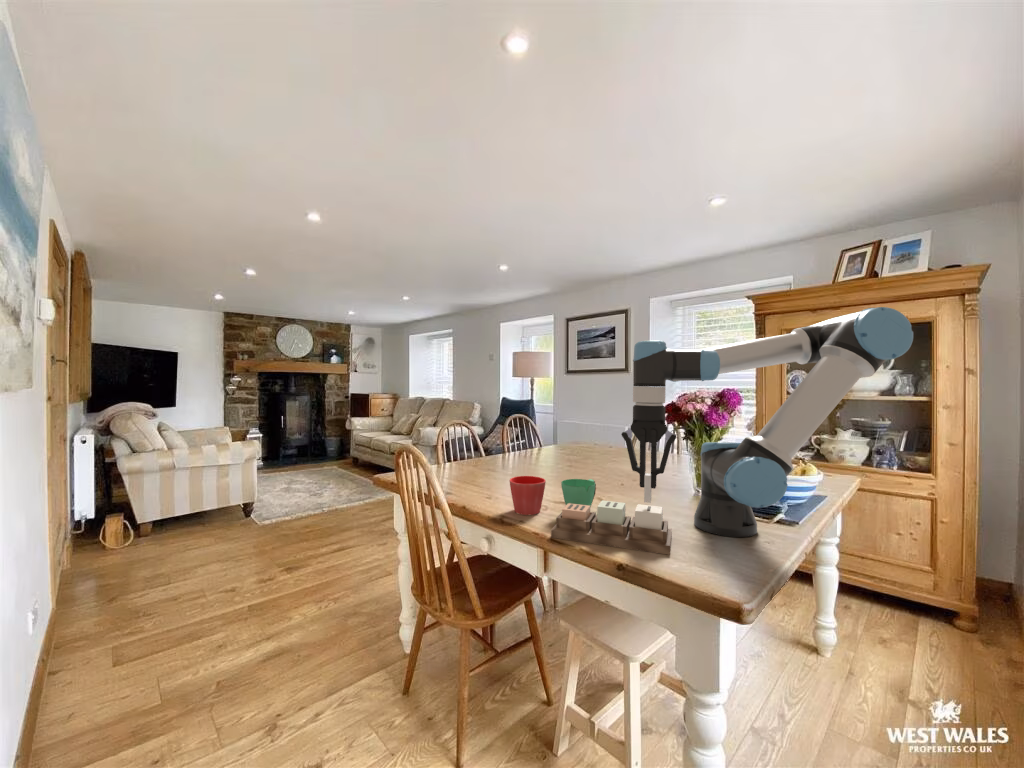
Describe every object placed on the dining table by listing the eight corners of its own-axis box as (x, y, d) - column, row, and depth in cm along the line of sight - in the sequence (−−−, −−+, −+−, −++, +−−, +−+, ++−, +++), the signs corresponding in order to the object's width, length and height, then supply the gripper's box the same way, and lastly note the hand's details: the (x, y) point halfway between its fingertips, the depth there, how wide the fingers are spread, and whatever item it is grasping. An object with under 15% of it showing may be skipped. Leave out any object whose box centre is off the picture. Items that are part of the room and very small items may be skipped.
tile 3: (590, 520, 111) (590, 505, 111) (585, 527, 105) (585, 511, 105) (568, 518, 113) (568, 502, 113) (562, 524, 108) (562, 508, 108)
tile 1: (662, 523, 104) (662, 506, 104) (661, 530, 99) (661, 513, 99) (637, 520, 106) (637, 503, 106) (634, 527, 101) (634, 510, 101)
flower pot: (546, 517, 122) (546, 483, 122) (509, 517, 122) (509, 483, 122) (544, 506, 133) (544, 475, 133) (509, 506, 133) (509, 475, 133)
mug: (586, 524, 115) (586, 488, 115) (555, 518, 121) (555, 483, 121) (607, 511, 127) (607, 478, 127) (578, 506, 133) (578, 474, 133)
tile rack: (671, 537, 106) (671, 519, 106) (670, 554, 95) (670, 534, 95) (563, 522, 117) (564, 506, 117) (551, 537, 106) (551, 519, 106)
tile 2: (625, 518, 108) (625, 502, 108) (622, 525, 102) (622, 508, 102) (601, 515, 110) (601, 499, 110) (597, 522, 104) (597, 506, 104)
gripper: (677, 404, 104) (676, 500, 104) (623, 403, 108) (622, 494, 109) (677, 405, 97) (676, 508, 97) (619, 404, 102) (618, 501, 102)
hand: (647, 501), depth 103 cm, fingers closed
